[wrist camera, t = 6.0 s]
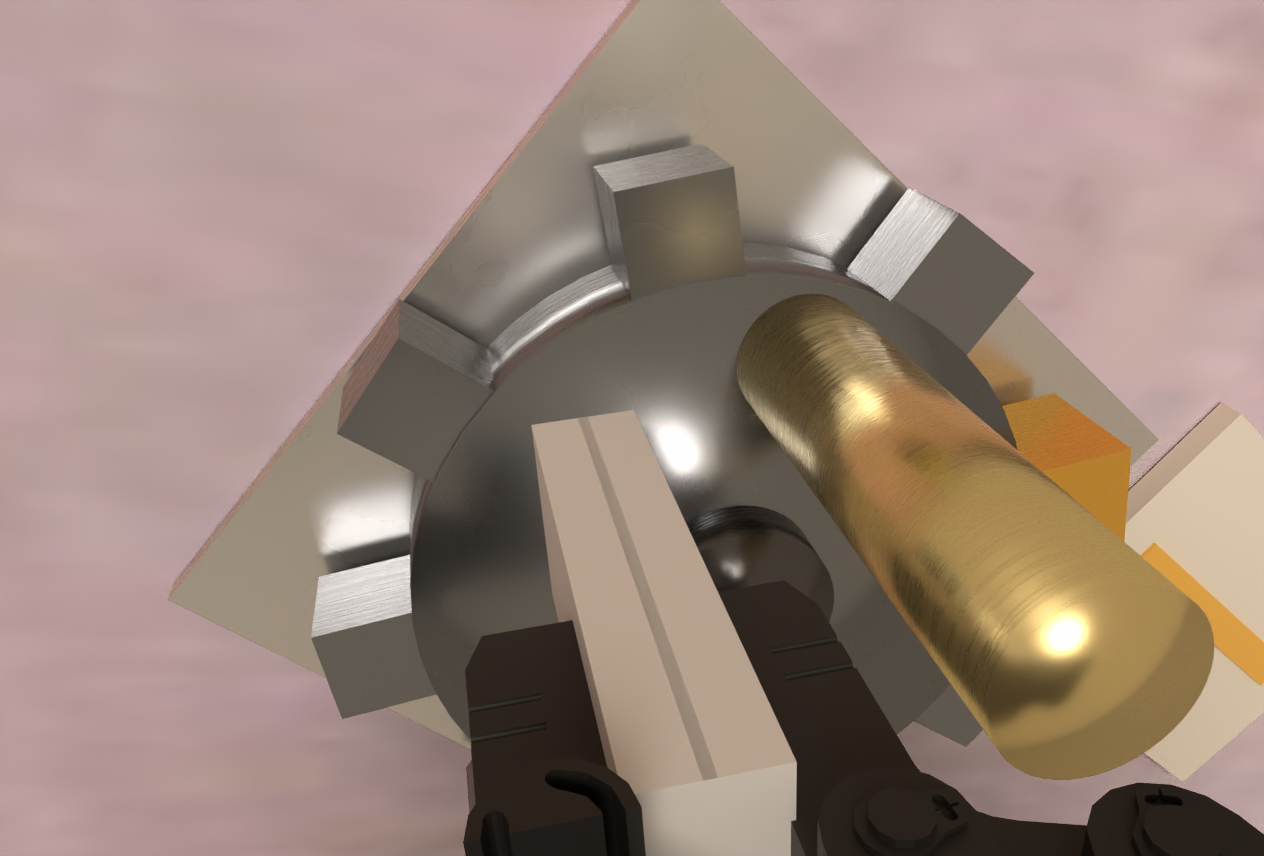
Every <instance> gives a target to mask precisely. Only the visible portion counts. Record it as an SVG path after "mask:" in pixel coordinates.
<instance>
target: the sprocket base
mask: <svg viewBox="0 0 1264 856" xmlns="http://www.w3.org/2000/svg"><path fill="white" fill-rule="evenodd" d="M697 144H704V145H705V146H707V147H708V148H709V149H711V150H712V151H713V152H715V153H716V154H717V155H719V156H720V157H722V158H723V159H724V160H726V161H727V162H728V163H730V164H731V165H732V166H734V172H735V181H736V190H737V198H738V207H739V216H740V225H741V234H742V242H752V243H760V244H768V245H776V246H784V247H789V248H792V249H796V250H800V251H804V252H807V253H811V254H815V255H818V256H822V257H825V258H827V259H829V260H831V261H834V262H836V263H838V264H841V265H843V266H845V267H849V266H850V264H851V263H852V262H853V260H854V259H855V258H856V256H857V255H858V254H859V253H860V251H861V250H862V249H863V247H864V246H865V245H866V243H867V242H868V241H869V239H870V238H871V237H872V236H873V234H874V233H875V232H876V230H877V229H878V228H879V226H880V225H881V224H882V222H883V221H884V220H885V218H886V217H887V216H888V215H889V213H890V212H891V211H892V209H893V208H894V207H895V205H896V204H897V203H898V201H899V200H900V199H901V198H902V196H903V195H904V194H905V192H906V191H907V190H908V188H907V187H906V186H905V185H904V184H903V183H902V182H901V181H900V180H899V179H898V178H897V177H896V176H895V175H894V174H893V173H892V172H891V171H890V170H889V169H888V168H887V167H886V166H885V165H884V164H883V163H882V162H881V161H880V160H879V159H878V158H877V157H876V156H875V155H874V154H873V153H872V152H871V151H870V150H869V149H868V148H867V147H866V146H865V145H864V144H863V143H862V142H861V141H860V140H859V139H858V138H857V137H856V136H855V135H854V134H853V133H852V132H851V131H850V130H849V129H848V128H847V127H846V126H845V125H844V124H843V123H842V122H841V121H840V120H839V119H838V118H837V117H836V116H835V115H834V114H833V113H832V112H831V111H830V110H829V109H828V108H827V107H826V106H825V105H824V104H823V103H822V102H821V101H820V100H819V99H818V98H817V97H816V96H815V95H814V94H813V93H812V92H811V91H810V90H809V89H808V88H807V87H806V86H805V85H804V84H803V83H802V82H801V81H800V80H799V79H798V78H797V77H796V76H795V75H794V74H793V73H792V72H791V71H790V70H789V69H788V68H787V67H786V66H785V65H784V64H783V63H782V62H781V61H780V60H779V59H778V58H777V57H776V56H775V55H774V54H772V53H771V52H770V51H769V50H768V49H767V48H766V47H765V46H764V45H763V44H762V43H761V42H760V41H759V40H758V39H757V38H756V37H755V36H754V35H753V34H752V33H751V32H750V31H749V30H748V29H747V28H746V27H745V26H744V25H743V24H742V23H741V22H740V21H739V20H738V19H737V18H736V17H735V16H734V15H733V14H732V13H731V12H730V11H729V10H728V9H727V8H726V7H725V6H724V5H723V4H722V3H721V2H720V1H719V0H632V1H631V2H630V4H629V5H628V6H627V8H626V9H625V10H624V11H623V13H622V14H621V15H620V16H619V18H618V19H617V20H616V22H615V23H614V24H613V25H612V27H611V28H610V29H609V30H608V32H607V33H606V34H605V36H604V37H603V38H602V39H601V41H600V42H599V43H598V44H597V46H596V47H595V48H594V50H593V51H592V52H591V53H590V55H589V56H588V57H587V58H586V60H585V61H584V62H583V64H582V65H581V66H580V67H579V69H578V70H577V71H576V72H575V74H574V75H573V76H572V78H571V79H570V80H569V81H568V83H567V84H566V85H565V86H564V88H563V89H562V90H561V92H560V93H559V94H558V95H557V97H556V98H555V99H554V100H553V102H552V103H551V104H550V106H549V107H548V108H547V109H546V111H545V112H544V113H543V114H542V116H541V117H540V118H539V120H538V121H537V122H536V123H535V125H534V126H533V127H532V128H531V130H530V131H529V132H528V134H527V135H526V136H525V137H524V139H523V140H522V141H521V142H520V144H519V145H518V146H517V148H516V149H515V150H514V151H513V153H512V154H511V155H510V156H509V158H508V159H507V160H506V162H505V163H504V164H503V165H502V167H501V168H500V169H499V170H498V172H497V173H496V174H495V176H494V177H493V178H492V179H491V181H490V182H489V183H488V184H487V186H486V187H485V188H484V190H483V191H482V192H481V193H480V195H479V196H478V197H477V198H476V200H475V201H474V202H473V204H472V205H471V206H470V207H469V209H468V210H467V211H466V212H465V214H464V215H463V216H462V218H461V219H460V220H459V221H458V223H457V224H456V225H455V226H454V228H453V229H452V230H451V232H450V233H449V234H448V235H447V237H446V238H445V239H444V240H443V242H442V243H441V244H440V246H439V247H438V248H437V249H436V251H435V252H434V253H433V254H432V256H431V257H430V258H429V260H428V261H427V262H426V263H425V265H424V266H423V267H422V268H421V270H420V271H419V272H418V274H417V275H416V276H415V277H414V279H413V280H412V281H411V282H410V284H409V285H408V286H407V288H406V289H405V290H404V291H403V293H402V294H401V295H400V296H399V298H398V299H397V300H396V302H395V303H394V304H393V305H392V307H391V308H390V309H389V310H388V312H387V313H386V314H385V316H384V317H383V318H382V319H381V321H380V322H379V323H378V324H377V326H376V327H375V328H374V330H373V331H372V332H371V333H370V335H369V336H368V337H367V338H366V340H365V341H364V342H363V344H362V345H361V346H360V347H359V349H358V350H357V351H356V352H355V354H354V355H353V356H352V358H351V359H350V360H349V361H348V363H347V364H346V365H345V366H344V368H343V369H342V370H341V372H340V373H339V374H338V375H337V377H336V378H335V379H334V380H333V382H332V383H331V384H330V386H329V387H328V388H327V389H326V391H325V392H324V393H323V394H322V396H321V397H320V398H319V400H318V401H317V402H316V403H315V405H314V406H313V407H312V408H311V410H310V411H309V412H308V414H307V415H306V416H305V417H304V419H303V420H302V421H301V422H300V424H299V425H298V426H297V428H296V429H295V430H294V431H293V433H292V434H291V435H290V436H289V438H288V439H287V440H286V442H285V443H284V444H283V445H282V447H281V448H280V449H279V450H278V452H277V453H276V454H275V456H274V457H273V458H272V459H271V461H270V462H269V463H268V464H267V466H266V467H265V468H264V470H263V471H262V472H261V473H260V475H259V476H258V477H257V478H256V480H255V481H254V482H253V484H252V485H251V486H250V487H249V489H248V490H247V491H246V492H245V494H244V495H243V496H242V498H241V499H240V500H239V501H238V503H237V504H236V505H235V506H234V508H233V509H232V510H231V512H230V513H229V514H228V515H227V517H226V518H225V519H224V520H223V522H222V523H221V524H220V526H219V527H218V528H217V529H216V531H215V532H214V533H213V534H212V536H211V537H210V538H209V540H208V541H207V542H206V543H205V545H204V546H203V547H202V548H201V550H200V551H199V552H198V554H197V555H196V556H195V557H194V559H193V560H192V561H191V562H190V564H189V565H188V566H187V568H186V569H185V570H184V571H183V573H182V574H181V575H180V576H179V578H178V579H177V580H176V582H175V583H174V584H173V587H172V589H171V592H170V595H169V598H168V600H169V601H171V602H173V603H175V604H177V605H179V606H181V607H183V608H185V609H187V610H189V611H191V612H193V613H196V614H198V615H200V616H202V617H204V618H206V619H208V620H210V621H212V622H214V623H216V624H218V625H220V626H222V627H224V628H226V629H228V630H230V631H232V632H234V633H236V634H238V635H240V636H242V637H244V638H246V639H248V640H250V641H252V642H254V643H256V644H258V645H260V646H262V647H264V648H267V649H269V650H271V651H273V652H275V653H277V654H279V655H281V656H283V657H285V658H287V659H289V660H291V661H293V662H295V663H297V664H299V665H301V666H303V667H305V668H307V669H309V670H311V671H313V672H315V673H317V674H319V675H321V676H323V677H325V678H326V676H325V673H324V670H323V668H322V665H321V663H320V660H319V657H318V655H317V652H316V650H315V647H314V645H313V642H312V639H311V633H312V625H313V618H314V610H315V603H316V595H317V588H318V580H319V577H320V576H324V575H329V574H333V573H337V572H341V571H345V570H349V569H353V568H357V567H361V566H365V565H370V564H374V563H378V562H382V561H386V560H390V559H394V558H398V557H402V556H406V555H410V517H411V507H412V496H413V488H414V484H415V480H416V476H417V474H416V473H414V472H412V471H410V470H408V469H406V468H404V467H402V466H400V465H398V464H396V463H394V462H392V461H390V460H388V459H386V458H384V457H382V456H380V455H378V454H376V453H374V452H372V451H370V450H368V449H366V448H364V447H362V446H360V445H358V444H356V443H354V442H352V441H350V440H348V439H346V438H344V437H342V436H340V435H338V434H337V429H338V421H339V414H340V407H341V399H342V392H343V386H344V385H345V383H346V382H347V380H348V378H349V377H350V375H351V374H352V372H353V370H354V369H355V367H356V366H357V364H358V363H359V361H360V359H361V358H362V356H363V355H364V353H365V352H366V350H367V348H368V347H369V345H370V344H371V342H372V341H373V339H374V337H375V336H376V334H377V333H378V331H379V330H380V328H381V326H382V325H383V323H384V322H385V320H386V318H387V317H388V315H389V314H390V312H391V311H392V309H393V307H394V306H395V304H396V303H397V301H398V300H399V299H400V300H402V301H404V302H406V303H407V304H409V305H411V306H413V307H414V308H416V309H418V310H420V311H421V312H423V313H425V314H427V315H428V316H430V317H432V318H434V319H435V320H437V321H439V322H441V323H442V324H444V325H446V326H448V327H449V328H451V329H453V330H455V331H456V332H458V333H460V334H462V335H463V336H465V337H467V338H469V339H470V340H472V341H474V342H476V343H477V344H479V345H481V346H483V347H484V348H487V347H488V346H489V345H490V344H491V343H492V342H493V341H494V340H495V339H496V338H497V337H498V336H499V335H500V334H501V333H502V332H503V331H504V330H505V329H506V328H507V327H508V326H509V325H510V324H511V323H513V322H514V321H515V320H517V319H518V318H519V317H521V316H522V315H523V314H525V313H526V312H527V311H529V310H530V309H531V308H533V307H534V306H535V305H537V304H538V303H539V302H541V301H542V300H543V299H545V298H546V297H548V296H549V295H551V294H553V293H555V292H556V291H558V290H560V289H562V288H563V287H565V286H567V285H569V284H570V283H572V282H574V281H576V280H577V279H579V278H581V277H583V276H585V275H587V274H590V273H592V272H594V271H597V270H599V269H602V268H604V267H606V266H609V265H611V264H610V258H609V253H608V247H607V241H606V236H605V230H604V224H603V219H602V213H601V208H600V202H599V196H598V191H597V185H596V179H595V174H594V168H593V166H597V165H601V164H606V163H611V162H616V161H621V160H625V159H630V158H635V157H640V156H644V155H649V154H654V153H659V152H664V151H668V150H673V149H678V148H683V147H687V146H692V145H697ZM967 356H968V358H969V359H970V360H971V361H972V362H973V364H974V365H975V366H976V367H977V369H978V370H979V371H980V372H981V373H982V375H983V376H984V377H985V378H986V380H987V381H988V383H989V384H990V386H991V388H992V390H993V391H994V393H995V395H996V397H997V398H998V400H999V402H1000V404H1001V405H1002V406H1004V405H1008V404H1012V403H1016V402H1020V401H1024V400H1029V399H1033V398H1037V397H1041V396H1045V395H1049V394H1053V393H1055V394H1056V395H1058V396H1059V397H1060V398H1062V399H1063V400H1065V401H1066V402H1067V403H1069V404H1070V405H1072V406H1073V407H1074V408H1076V409H1077V410H1078V411H1080V412H1081V413H1083V414H1084V415H1085V416H1087V417H1088V418H1090V419H1091V420H1092V421H1094V422H1095V423H1097V424H1098V425H1099V426H1101V427H1102V428H1103V429H1105V430H1106V431H1108V432H1109V433H1110V434H1112V435H1113V436H1115V437H1116V438H1117V439H1119V440H1120V441H1122V442H1123V443H1124V444H1126V445H1127V446H1128V447H1130V448H1131V461H1130V467H1131V466H1132V465H1133V464H1134V463H1135V462H1136V461H1137V460H1138V459H1139V458H1140V457H1141V456H1142V455H1143V454H1144V453H1145V452H1146V451H1147V450H1148V449H1149V448H1150V447H1151V446H1152V445H1153V444H1154V443H1156V442H1157V441H1158V440H1159V439H1158V438H1157V437H1156V436H1155V435H1154V434H1153V433H1152V432H1151V431H1150V430H1149V429H1148V428H1147V427H1146V426H1145V425H1144V424H1143V423H1142V422H1141V421H1140V420H1139V419H1138V418H1137V417H1136V416H1135V415H1134V414H1133V413H1132V412H1131V411H1130V410H1129V409H1128V408H1127V407H1126V406H1125V405H1124V404H1123V403H1122V402H1121V401H1120V400H1119V399H1118V398H1117V397H1116V396H1115V395H1114V394H1113V393H1112V392H1111V391H1110V390H1109V389H1108V388H1107V387H1106V386H1105V385H1104V384H1103V383H1102V382H1101V381H1100V380H1099V379H1098V378H1097V377H1096V376H1095V375H1094V374H1093V373H1092V372H1091V371H1090V370H1089V369H1088V368H1087V367H1086V366H1085V365H1084V364H1083V363H1082V362H1081V361H1080V360H1079V359H1078V358H1077V357H1076V356H1075V355H1074V354H1073V353H1072V352H1071V351H1070V350H1069V349H1068V348H1067V347H1066V346H1065V345H1064V344H1063V343H1062V342H1061V341H1060V340H1059V339H1058V338H1057V337H1056V336H1055V335H1054V334H1053V333H1052V332H1051V331H1050V330H1049V329H1048V328H1047V327H1046V326H1045V325H1044V324H1043V323H1042V322H1041V321H1040V320H1039V319H1038V318H1037V317H1036V316H1035V315H1034V314H1033V313H1032V312H1031V311H1030V310H1029V309H1028V308H1027V307H1026V306H1025V305H1024V304H1023V303H1022V302H1021V301H1020V300H1019V299H1018V298H1017V297H1016V296H1015V297H1014V298H1013V300H1012V301H1011V302H1010V303H1009V304H1008V306H1007V307H1006V308H1005V309H1004V310H1003V312H1002V313H1001V314H1000V315H999V317H998V318H997V319H996V320H995V321H994V323H993V324H992V325H991V326H990V328H989V329H988V330H987V331H986V332H985V334H984V335H983V336H982V337H981V338H980V340H979V341H978V342H977V343H976V345H975V346H974V347H973V348H972V349H971V351H970V352H969V353H968V354H967ZM386 708H388V709H390V710H392V711H394V712H396V713H398V714H400V715H402V716H404V717H406V718H409V719H411V720H413V721H415V722H417V723H419V724H421V725H423V726H425V727H427V728H429V729H431V730H433V731H435V732H437V733H439V734H441V735H443V736H445V737H447V738H449V739H451V740H453V741H455V742H457V743H459V744H461V745H463V746H465V747H467V748H469V749H471V740H470V739H469V738H468V737H467V736H466V734H465V733H464V732H463V731H462V730H461V729H460V727H459V726H458V725H457V724H456V723H455V722H454V720H453V719H452V718H451V717H450V715H449V714H448V712H447V710H446V709H445V707H444V706H443V704H442V702H441V701H440V699H439V697H438V696H437V695H433V696H429V697H425V698H421V699H417V700H413V701H410V702H406V703H402V704H398V705H394V706H390V707H386Z"/></svg>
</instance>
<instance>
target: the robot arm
mask: <svg viewBox="0 0 1264 856" xmlns="http://www.w3.org/2000/svg"><path fill="white" fill-rule="evenodd" d="M531 426H532V434H533V442H534V450H535V458H536V466H537V475H538V483H539V491H540V499H541V507H542V515H543V523H544V531H545V539H546V547H547V555H548V563H549V571H550V579H551V587H552V594H553V599H554V603H555V608H556V613H557V617H558V622H559V623H553V624H547V625H542V626H536V627H530V628H524V629H519V630H513V631H507V632H502V633H496V634H490V635H484V636H482V637H481V639H480V641H479V643H478V645H477V647H476V649H475V651H474V653H473V655H472V657H471V659H470V661H469V663H468V665H467V667H466V669H465V676H466V689H467V702H468V711H469V713H468V715H469V727H470V738H471V753H472V766H473V779H474V791H475V806H474V807H473V809H472V810H471V812H470V813H469V815H468V820H467V826H466V831H465V837H464V842H463V843H464V848H465V853H466V856H1264V834H1262V833H1261V832H1260V831H1258V830H1257V829H1256V828H1254V827H1253V826H1252V825H1251V824H1249V823H1248V822H1247V821H1245V820H1244V819H1243V818H1242V817H1240V816H1239V815H1237V814H1236V813H1234V812H1232V811H1231V810H1229V809H1227V808H1226V807H1224V806H1222V805H1220V804H1219V803H1217V802H1215V801H1214V800H1212V799H1210V798H1209V797H1207V796H1205V795H1201V794H1198V793H1195V792H1192V791H1189V790H1186V789H1183V788H1180V787H1176V786H1173V785H1166V784H1151V783H1135V784H1131V785H1127V786H1123V787H1119V788H1116V789H1112V790H1110V791H1109V792H1107V793H1106V794H1105V795H1104V796H1103V797H1102V798H1100V799H1099V800H1098V801H1097V802H1096V803H1095V804H1094V805H1092V809H1091V813H1090V817H1089V820H1088V824H1087V826H1085V825H1071V824H1057V823H1043V822H1029V821H1017V820H1011V819H1005V818H999V817H992V816H990V815H987V814H984V813H981V812H978V811H976V810H975V809H974V808H973V807H972V806H971V805H970V804H969V803H968V802H967V801H966V800H965V798H964V797H963V796H962V795H961V794H960V793H959V792H958V791H957V790H956V789H954V788H952V787H951V786H949V785H947V784H945V783H943V782H942V781H940V780H938V779H936V778H934V777H933V776H931V775H929V774H925V773H921V772H920V771H919V770H918V768H917V767H916V766H915V765H914V763H913V761H912V760H911V758H910V756H909V755H908V753H907V751H906V750H905V748H904V746H903V745H902V743H901V741H900V740H899V738H898V736H897V735H896V733H895V731H894V730H893V728H892V726H891V725H890V723H889V721H888V720H887V718H886V716H885V715H884V713H883V711H882V710H881V708H880V706H879V705H878V703H877V701H876V700H875V698H874V696H873V695H872V693H871V691H870V690H869V688H868V686H867V685H866V683H865V681H864V680H863V678H862V676H861V675H860V673H859V671H858V670H857V668H854V667H853V664H852V660H851V658H850V656H849V655H848V653H847V651H846V650H845V648H844V646H843V645H842V643H841V642H838V640H837V635H836V633H835V631H834V630H833V628H832V627H831V625H830V623H829V622H828V620H827V618H826V617H825V615H824V613H823V612H822V610H821V608H820V607H819V605H818V604H817V603H816V602H814V601H813V600H812V599H810V598H809V597H807V596H806V595H804V594H803V593H802V592H800V591H799V590H797V589H796V588H795V587H793V586H792V585H790V584H789V583H787V582H786V581H785V580H783V581H777V582H771V583H765V584H760V585H754V586H748V587H742V588H737V589H731V590H725V591H720V592H718V591H717V589H716V587H715V585H714V583H713V580H712V578H711V576H710V574H709V572H708V570H707V567H706V565H705V563H704V561H703V559H702V557H701V555H700V552H699V550H698V548H697V546H696V544H695V542H694V539H693V537H692V535H691V533H690V531H689V529H688V527H687V524H686V522H685V520H684V518H683V516H682V514H681V511H680V509H679V507H678V505H677V503H676V501H675V498H674V496H673V494H672V492H671V490H670V488H669V486H668V483H667V481H666V479H665V477H664V475H663V473H662V470H661V468H660V466H659V464H658V462H657V460H656V457H655V455H654V453H653V451H652V449H651V447H650V445H649V442H648V440H647V438H646V436H645V434H644V432H643V429H642V427H641V425H640V423H639V421H638V419H637V416H636V414H635V412H634V410H630V411H623V412H617V413H610V414H603V415H596V416H589V417H582V418H575V419H568V420H561V421H555V422H548V423H541V424H534V425H531Z"/></svg>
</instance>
